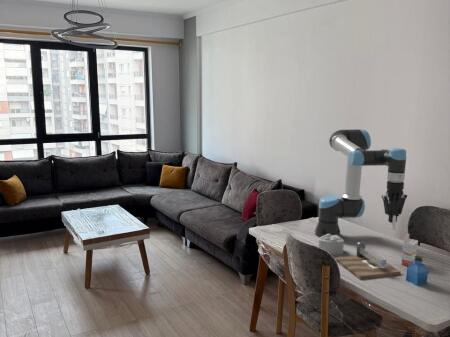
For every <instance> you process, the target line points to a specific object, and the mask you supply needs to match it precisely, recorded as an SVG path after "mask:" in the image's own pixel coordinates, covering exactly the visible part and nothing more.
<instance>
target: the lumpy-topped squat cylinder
mask: <svg viewBox="0 0 450 337" xmlns="http://www.w3.org/2000/svg"><path fill="white" fill-rule="evenodd" d="M317 242H318V244H317V247H319V248H322V249H324V250H326V251H327V252H329V253H330V254H331V256H332V255H333V256H334V255H336V256H337V255H342V254H344V245H345V244H344V242H345V240H344V239H343V238H341V236H340V237H339V236H338V235H331V234H326V235H324V236H322V237H319V238H318V241H317Z"/></svg>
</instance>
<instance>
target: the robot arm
mask: <svg viewBox="0 0 450 337" xmlns="http://www.w3.org/2000/svg"><path fill="white" fill-rule="evenodd" d="M328 140H329V146H330V147H331V148H332V149H333V151H336V152H340V153H341V154H343V155H344V156H345V157H347V159H346V160H347V162H346V169H345V170H346V172H345V185H344V192H343V193H342V195H341V198H340V196H335V195H328V196H323V197H321V198H319V203H318V204H319V205H318V222H317V225H316V227H315V229H314V235H315V236H317V237H319V238H320V237H322V236H324V235H326V234H331V235H338V236H339V237H340V238H341V229H340V226H339V219H355V218H360V217H362V216H363V215H364V213H365V208H366V205H365V200H364V199H363V198H362V195H361V194H360V193H361V192H360V191H361V181H362V180H361V179H362V170H363V169H362V168H363V167H364V166H365V167H367V166H368V167H369V166H372V167H373V166H375V167H376V166H378V167H379V166H386V167H387V177H386V179H387V181H386V189H387V190H386V192H385V194H384V195H383V194H382V195H381V199H382V202H383V208H384V214H386V215H387V216H388V224H389V225H388V228H389V229H391V230H396V226H397V225H396V224H397V222H398V217H400V215H402V213H403V209H404V205H405V203H406V199H407V198H408V195H407V194H405V193H404V191H403V190H404V187H405V182H404V181H405V176H406V175H405V174H406V165H407V164H406V163H407V150H406V149H405V148H400V147H398V148H397V147H396V148H395V147H394V148H393V147H392V148H390V149H382V148H381V149H380V150H379V149H378V150H377V149H375V150H370V148H371V145H372V139H371V135H370V134H369V132H368V131H367V130H366V129H338V130H336V131H334V132H333V133H332V134H331V135H330V137H329V139H328Z"/></svg>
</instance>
